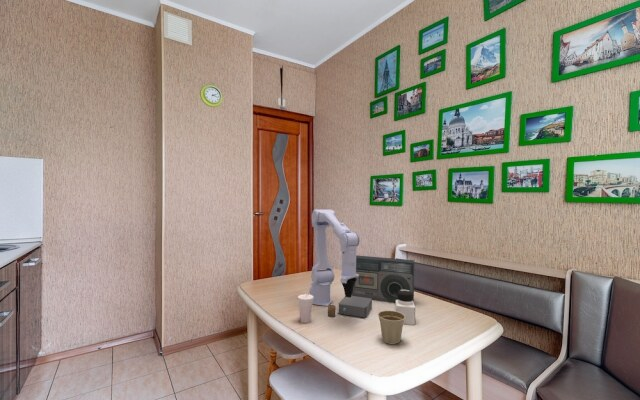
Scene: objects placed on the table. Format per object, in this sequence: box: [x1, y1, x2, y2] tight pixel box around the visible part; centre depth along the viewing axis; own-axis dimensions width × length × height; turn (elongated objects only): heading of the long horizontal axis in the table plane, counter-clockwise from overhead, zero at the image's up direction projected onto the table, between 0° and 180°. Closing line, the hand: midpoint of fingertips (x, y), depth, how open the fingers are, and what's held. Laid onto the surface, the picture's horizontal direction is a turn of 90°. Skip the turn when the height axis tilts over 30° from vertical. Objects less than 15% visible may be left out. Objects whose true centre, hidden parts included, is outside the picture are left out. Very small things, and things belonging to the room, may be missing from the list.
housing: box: [338, 295, 373, 319], centre depth 127 cm, size 12×12×4 cm
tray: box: [338, 303, 365, 318], centre depth 126 cm, size 12×11×4 cm
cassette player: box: [352, 254, 415, 304], centre depth 143 cm, size 29×7×20 cm, turn 68°
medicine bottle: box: [394, 290, 416, 326], centre depth 118 cm, size 7×7×12 cm
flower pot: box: [377, 310, 405, 345], centre depth 101 cm, size 9×9×9 cm
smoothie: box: [297, 285, 314, 324], centre depth 116 cm, size 6×6×14 cm
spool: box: [327, 304, 337, 318], centre depth 122 cm, size 3×3×4 cm
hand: (348, 296), depth 116 cm, fingers closed
